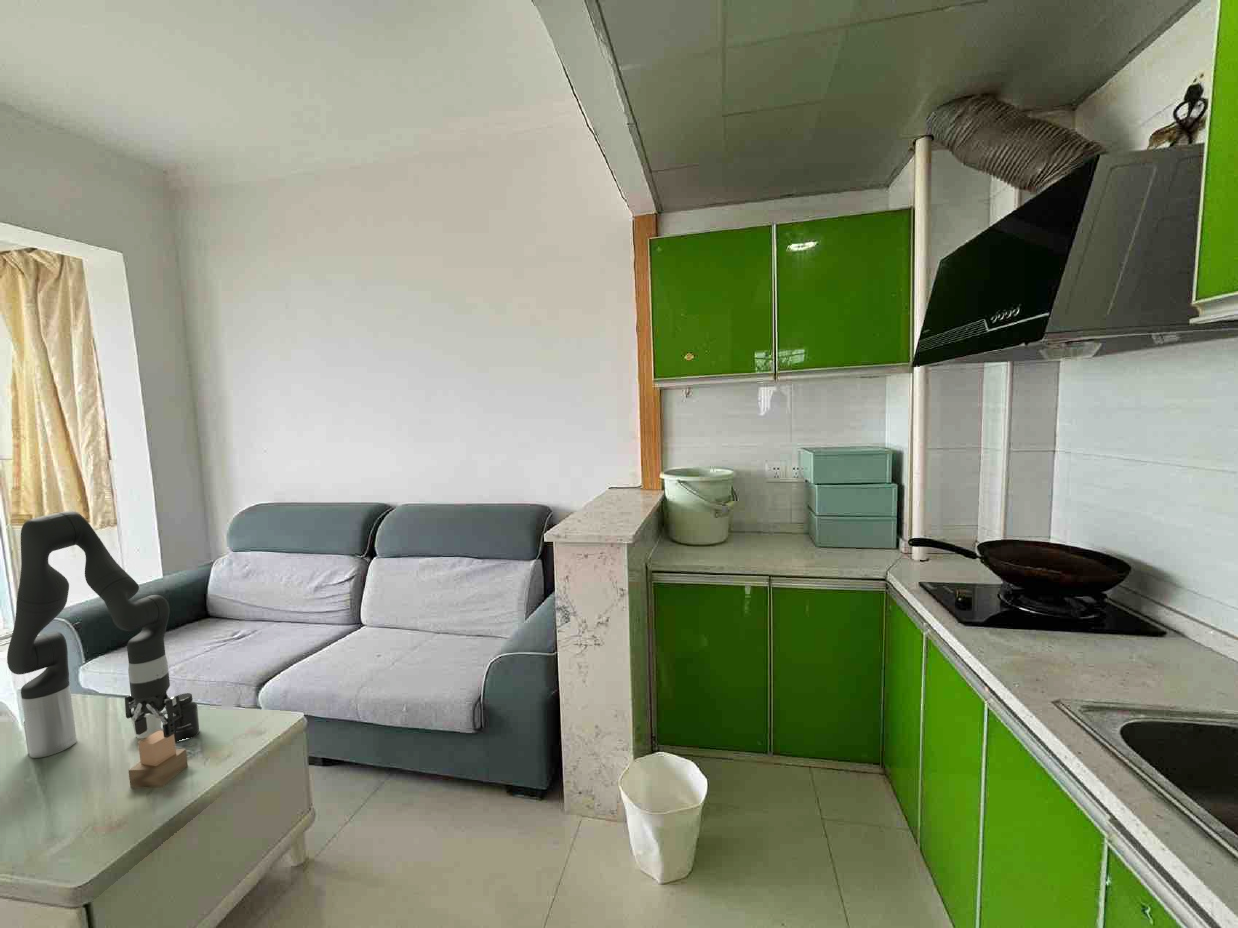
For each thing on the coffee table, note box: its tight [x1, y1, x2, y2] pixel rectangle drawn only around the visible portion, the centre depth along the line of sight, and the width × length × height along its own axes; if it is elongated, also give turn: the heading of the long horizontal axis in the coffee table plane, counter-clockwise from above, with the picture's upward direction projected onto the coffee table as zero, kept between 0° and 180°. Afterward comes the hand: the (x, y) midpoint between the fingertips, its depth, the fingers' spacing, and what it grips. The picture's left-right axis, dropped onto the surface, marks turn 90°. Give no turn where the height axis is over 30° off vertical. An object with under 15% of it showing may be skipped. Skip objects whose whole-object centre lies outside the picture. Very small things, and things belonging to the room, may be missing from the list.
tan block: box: [137, 730, 177, 766], centre depth 136 cm, size 5×5×6 cm
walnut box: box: [128, 748, 189, 789], centre depth 136 cm, size 8×8×5 cm
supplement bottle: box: [166, 692, 200, 743], centre depth 153 cm, size 7×7×12 cm
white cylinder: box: [130, 711, 162, 739], centre depth 156 cm, size 7×7×7 cm
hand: (155, 734), depth 135 cm, fingers open, 8 cm apart
